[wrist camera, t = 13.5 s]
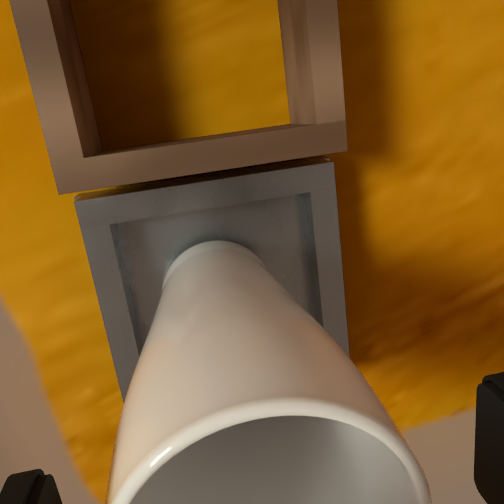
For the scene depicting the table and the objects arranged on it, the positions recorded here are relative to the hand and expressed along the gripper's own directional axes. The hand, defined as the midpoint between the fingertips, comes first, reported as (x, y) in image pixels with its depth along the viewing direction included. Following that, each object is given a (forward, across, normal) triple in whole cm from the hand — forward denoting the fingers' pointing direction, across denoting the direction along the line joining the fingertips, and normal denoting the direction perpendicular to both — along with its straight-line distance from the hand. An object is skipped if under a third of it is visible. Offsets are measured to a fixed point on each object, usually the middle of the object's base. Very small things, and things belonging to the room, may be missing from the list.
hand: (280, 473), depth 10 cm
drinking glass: (+14, 0, +1) cm, 14 cm away
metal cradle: (+15, 0, +1) cm, 15 cm away
